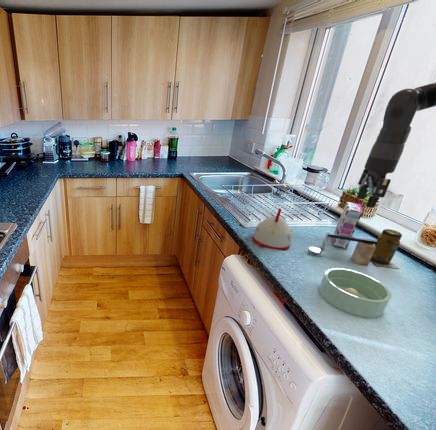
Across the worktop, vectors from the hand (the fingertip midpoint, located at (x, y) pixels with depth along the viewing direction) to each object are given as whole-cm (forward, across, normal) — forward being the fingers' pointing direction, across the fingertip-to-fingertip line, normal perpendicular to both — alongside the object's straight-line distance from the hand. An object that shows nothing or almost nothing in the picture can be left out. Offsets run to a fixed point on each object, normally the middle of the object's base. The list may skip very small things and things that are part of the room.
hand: (364, 202), depth 99 cm
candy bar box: (+23, +15, -4) cm, 28 cm away
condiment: (+23, +4, -14) cm, 27 cm away
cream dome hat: (+23, +3, +24) cm, 34 cm away
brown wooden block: (+23, 0, -6) cm, 24 cm away
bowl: (+23, -27, +6) cm, 36 cm away
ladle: (+23, 0, +2) cm, 23 cm away
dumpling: (+19, -26, +6) cm, 33 cm away
